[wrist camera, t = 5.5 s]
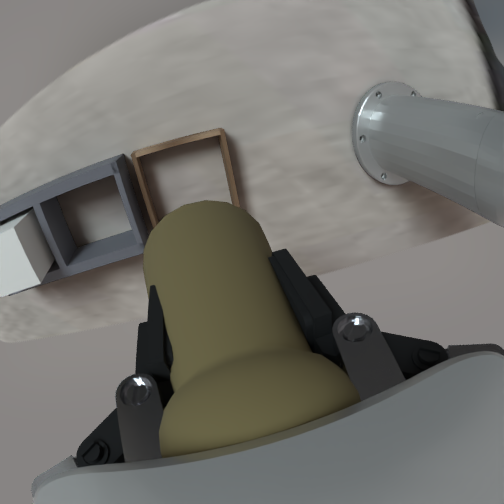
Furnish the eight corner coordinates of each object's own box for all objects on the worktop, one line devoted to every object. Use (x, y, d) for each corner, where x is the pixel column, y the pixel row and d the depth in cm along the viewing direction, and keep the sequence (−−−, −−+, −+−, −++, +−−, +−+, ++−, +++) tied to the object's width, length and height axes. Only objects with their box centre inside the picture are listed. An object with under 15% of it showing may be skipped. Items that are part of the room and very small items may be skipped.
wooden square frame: (220, 127, 26) (224, 129, 25) (237, 208, 31) (241, 215, 29) (133, 151, 25) (130, 154, 24) (157, 230, 30) (157, 239, 28)
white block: (42, 200, 25) (13, 227, 19) (61, 248, 27) (40, 283, 21) (4, 217, 24) (-26, 246, 18) (24, 261, 27) (0, 297, 21)
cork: (198, 331, 16) (252, 533, 6) (115, 257, 13) (88, 516, 3) (289, 265, 16) (422, 449, 6) (221, 172, 12) (391, 389, 3)
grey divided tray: (123, 153, 25) (115, 161, 22) (148, 234, 29) (146, 253, 26) (-9, 210, 23) (-28, 225, 19) (21, 276, 27) (8, 297, 24)
